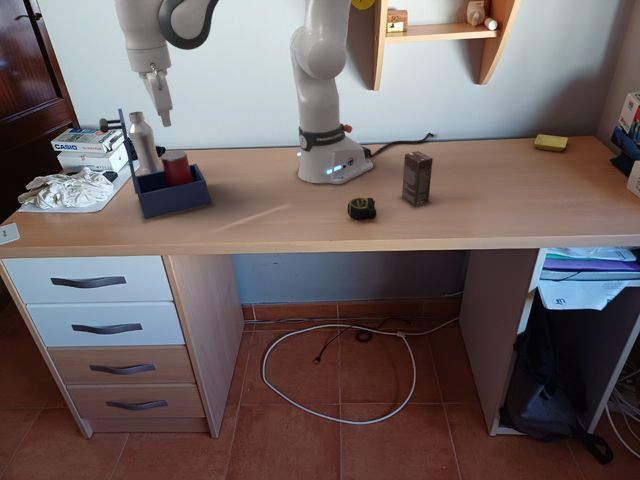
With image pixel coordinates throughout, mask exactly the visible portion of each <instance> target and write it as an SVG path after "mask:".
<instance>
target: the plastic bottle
mask: <svg viewBox="0 0 640 480" xmlns="http://www.w3.org/2000/svg"><path fill="white" fill-rule="evenodd" d="M128 117H129V122H130V126H129V128H128V136H129V139H130V141H131V143H132V145H133V147H134V150H135V152H136V156H137V160H138V164H139V172H140V175H144V174H149V173H154V172H159V171H163V170H164V169H163V165H162V162H161V159H160V158H159V155H158V152H157V148H156V144H155V143H156V142H155V136H154V130H153V128H152V127H151V126H150V124H149V123H147V122H146V121H145V116H144V113H143V111H133V112H130V113H128Z"/></svg>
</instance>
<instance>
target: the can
mask: <svg viewBox="0 0 640 480" xmlns="http://www.w3.org/2000/svg"><path fill="white" fill-rule="evenodd" d="M160 162H161V164H162V166H163V169H164V173H165V177H166V180H167V184H168V188H170V187H174V186H179V185H183V184H188V183H192V182H193V180H192V176H191V171H190V167H189V165H190V163H189V159H188V154H187V153H186V151H183V150H171V151H167V152H165V153H163V154H162V155H161V156H160Z"/></svg>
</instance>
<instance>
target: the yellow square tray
mask: <svg viewBox="0 0 640 480" xmlns="http://www.w3.org/2000/svg"><path fill="white" fill-rule="evenodd" d="M568 140H569V138H568V137H566V136H557V135H548V134H541V133H540V134H537V136H536V139H535V140H534V143H533V144H534V147H535V148H537V149H538V150H543V151H551V152H561V151H563V150H564V149H565V148H566V146H567V143H568Z"/></svg>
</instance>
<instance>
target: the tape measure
mask: <svg viewBox="0 0 640 480" xmlns="http://www.w3.org/2000/svg"><path fill="white" fill-rule="evenodd" d="M375 204H376V200H374V198H373V197H367V198H365V197H356V198H353V199H351V200H350V201H349V202H348V203H347V209H346V210H347V211H346V212H347V214H348V216H349V217H350V218H351V219H352V220H355V221H358V222H363V221H370V220H375V219H376V218H377V209H376V207H375V206H376V205H375Z"/></svg>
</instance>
